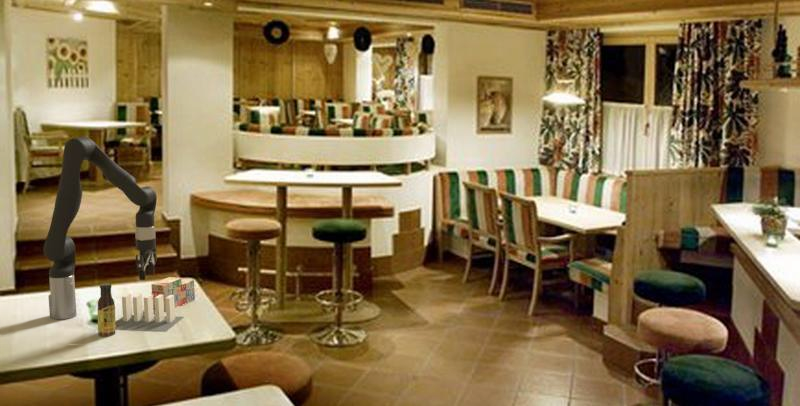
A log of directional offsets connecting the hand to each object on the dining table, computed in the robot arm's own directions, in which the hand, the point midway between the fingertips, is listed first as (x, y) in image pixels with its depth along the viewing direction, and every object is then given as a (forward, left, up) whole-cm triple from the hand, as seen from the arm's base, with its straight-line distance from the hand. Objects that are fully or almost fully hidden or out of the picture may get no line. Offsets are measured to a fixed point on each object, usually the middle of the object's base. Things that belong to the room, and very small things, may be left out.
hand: (147, 276), depth 303 cm
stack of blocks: (+2, +22, -19) cm, 29 cm away
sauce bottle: (-8, -18, -18) cm, 27 cm away
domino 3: (0, 0, -18) cm, 18 cm away
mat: (0, -4, -18) cm, 19 cm away
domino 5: (+9, 0, -18) cm, 20 cm away
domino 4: (+5, 0, -18) cm, 18 cm away
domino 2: (-4, 0, -18) cm, 18 cm away
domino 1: (-9, 0, -18) cm, 20 cm away
